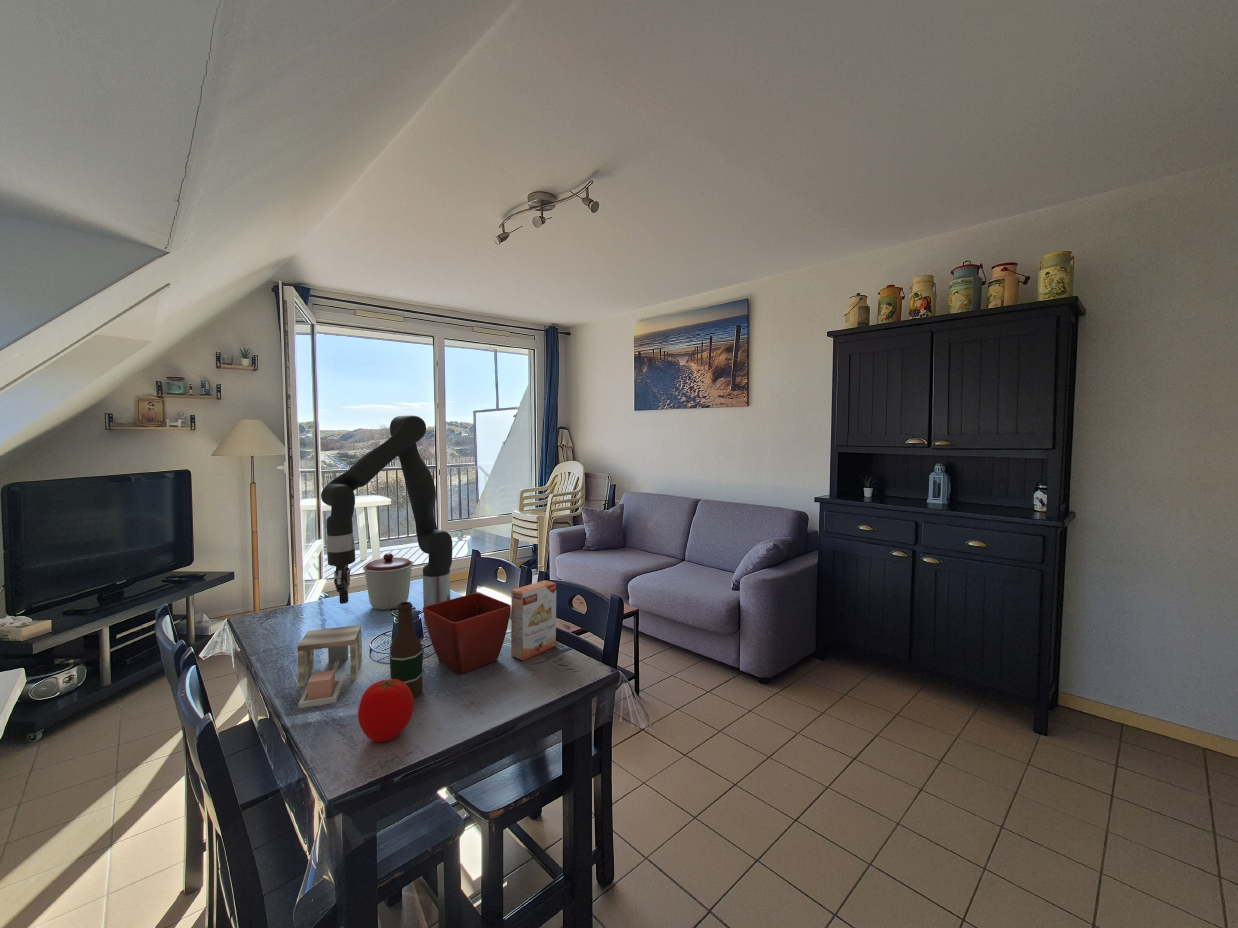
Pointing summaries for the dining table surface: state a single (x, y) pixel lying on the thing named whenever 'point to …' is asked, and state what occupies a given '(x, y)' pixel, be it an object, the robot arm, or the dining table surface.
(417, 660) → the beer bottle
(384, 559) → the canister
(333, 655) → the grey elongated piece
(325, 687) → the coral block
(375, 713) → the tomato
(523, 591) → the cracker box
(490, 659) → the plant pot
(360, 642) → the tunnel
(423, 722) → the dining table surface
